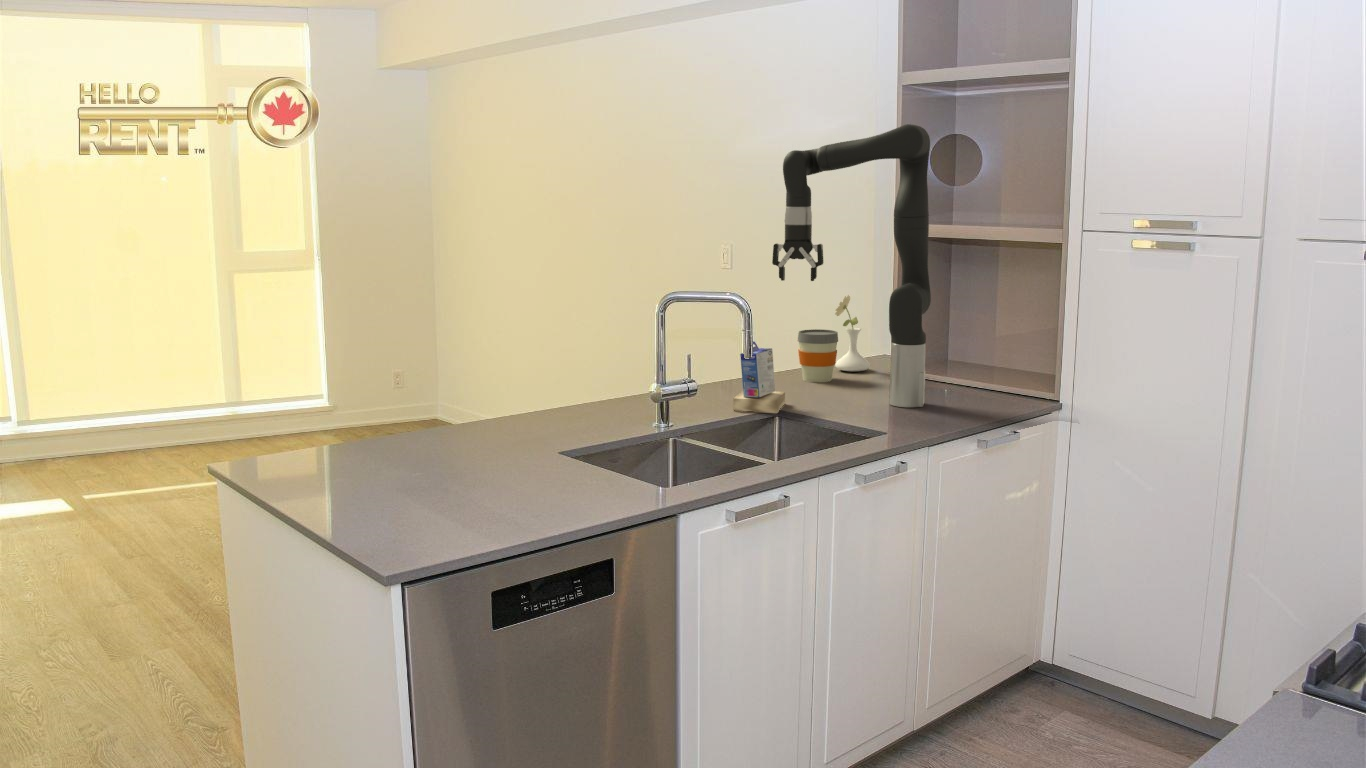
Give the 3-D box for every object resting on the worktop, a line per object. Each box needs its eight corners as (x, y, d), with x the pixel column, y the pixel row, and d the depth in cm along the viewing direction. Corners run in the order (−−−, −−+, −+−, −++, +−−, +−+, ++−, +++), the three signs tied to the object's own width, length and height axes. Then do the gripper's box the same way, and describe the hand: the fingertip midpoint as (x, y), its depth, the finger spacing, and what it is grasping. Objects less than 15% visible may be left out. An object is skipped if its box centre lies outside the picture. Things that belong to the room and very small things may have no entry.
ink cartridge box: (758, 391, 293) (755, 339, 291) (776, 391, 290) (773, 339, 288) (741, 397, 285) (739, 344, 282) (759, 398, 282) (757, 344, 280)
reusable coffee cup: (819, 385, 319) (820, 336, 317) (788, 379, 329) (789, 332, 326) (845, 379, 328) (846, 332, 325) (814, 374, 337) (815, 328, 334)
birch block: (785, 405, 292) (785, 391, 292) (777, 415, 281) (777, 400, 280) (742, 404, 296) (742, 390, 295) (733, 412, 284) (733, 398, 284)
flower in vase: (851, 366, 351) (853, 291, 347) (877, 371, 342) (879, 294, 338) (824, 370, 343) (825, 294, 339) (850, 375, 334) (851, 297, 330)
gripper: (825, 222, 297) (824, 279, 301) (776, 222, 302) (775, 279, 305) (821, 223, 290) (820, 282, 293) (770, 223, 294) (770, 281, 298)
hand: (797, 280), depth 299 cm, fingers open, 8 cm apart
